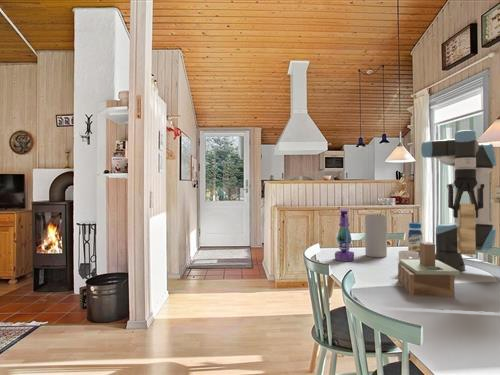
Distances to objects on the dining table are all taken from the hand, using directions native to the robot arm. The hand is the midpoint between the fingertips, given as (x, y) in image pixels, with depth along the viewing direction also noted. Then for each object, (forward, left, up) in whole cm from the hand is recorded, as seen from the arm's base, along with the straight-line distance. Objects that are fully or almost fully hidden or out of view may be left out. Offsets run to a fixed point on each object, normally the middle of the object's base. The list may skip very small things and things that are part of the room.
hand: (465, 225), depth 152 cm
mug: (-26, -16, -27) cm, 41 cm away
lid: (-1, -14, -18) cm, 23 cm away
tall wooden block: (+1, 0, -11) cm, 11 cm away
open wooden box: (0, -16, -27) cm, 31 cm away
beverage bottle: (-81, 0, -27) cm, 85 cm away
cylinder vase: (-76, -24, -27) cm, 84 cm away
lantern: (-61, -44, -27) cm, 80 cm away
